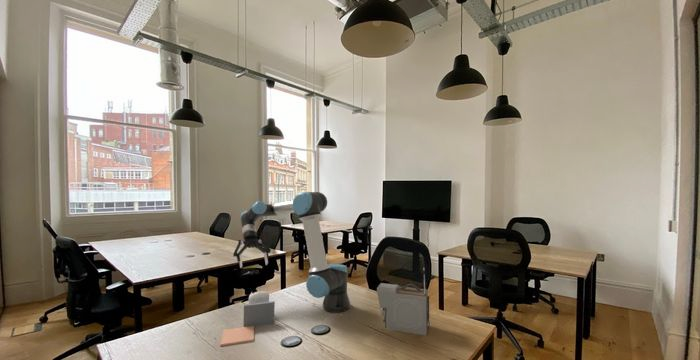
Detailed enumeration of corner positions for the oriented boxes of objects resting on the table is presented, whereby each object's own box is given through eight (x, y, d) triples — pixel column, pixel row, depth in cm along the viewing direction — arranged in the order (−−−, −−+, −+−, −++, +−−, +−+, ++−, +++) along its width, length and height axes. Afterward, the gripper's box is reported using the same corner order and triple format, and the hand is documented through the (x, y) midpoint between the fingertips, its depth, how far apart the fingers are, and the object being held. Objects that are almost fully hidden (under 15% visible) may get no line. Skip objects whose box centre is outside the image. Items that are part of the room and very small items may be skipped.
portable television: (381, 318, 145) (381, 258, 146) (430, 325, 137) (429, 262, 138) (375, 328, 133) (375, 263, 135) (428, 337, 125) (427, 268, 127)
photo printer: (267, 312, 151) (267, 288, 151) (269, 315, 147) (270, 291, 148) (247, 317, 145) (247, 292, 146) (249, 320, 142) (249, 294, 142)
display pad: (253, 327, 134) (253, 325, 134) (253, 341, 122) (253, 339, 122) (223, 331, 130) (223, 329, 130) (220, 346, 118) (220, 344, 118)
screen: (274, 322, 140) (274, 301, 140) (274, 323, 138) (274, 302, 139) (243, 326, 135) (243, 304, 136) (243, 327, 134) (243, 305, 134)
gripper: (269, 236, 179) (275, 266, 165) (226, 239, 166) (229, 271, 153) (271, 228, 174) (278, 258, 161) (227, 231, 162) (230, 263, 148)
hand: (254, 265), depth 157 cm, fingers open, 13 cm apart
